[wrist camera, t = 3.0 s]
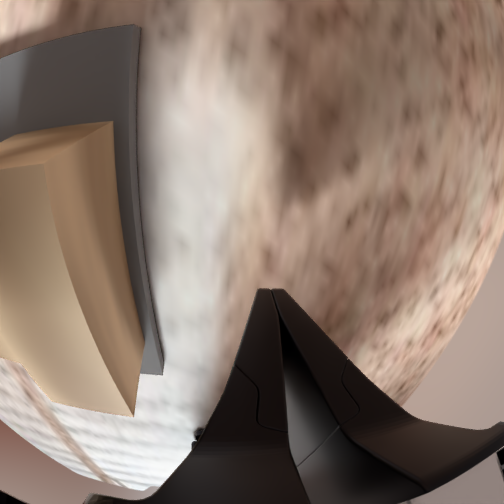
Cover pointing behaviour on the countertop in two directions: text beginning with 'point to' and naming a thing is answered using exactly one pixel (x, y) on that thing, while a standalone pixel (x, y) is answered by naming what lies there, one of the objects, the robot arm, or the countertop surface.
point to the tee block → (67, 269)
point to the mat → (89, 111)
